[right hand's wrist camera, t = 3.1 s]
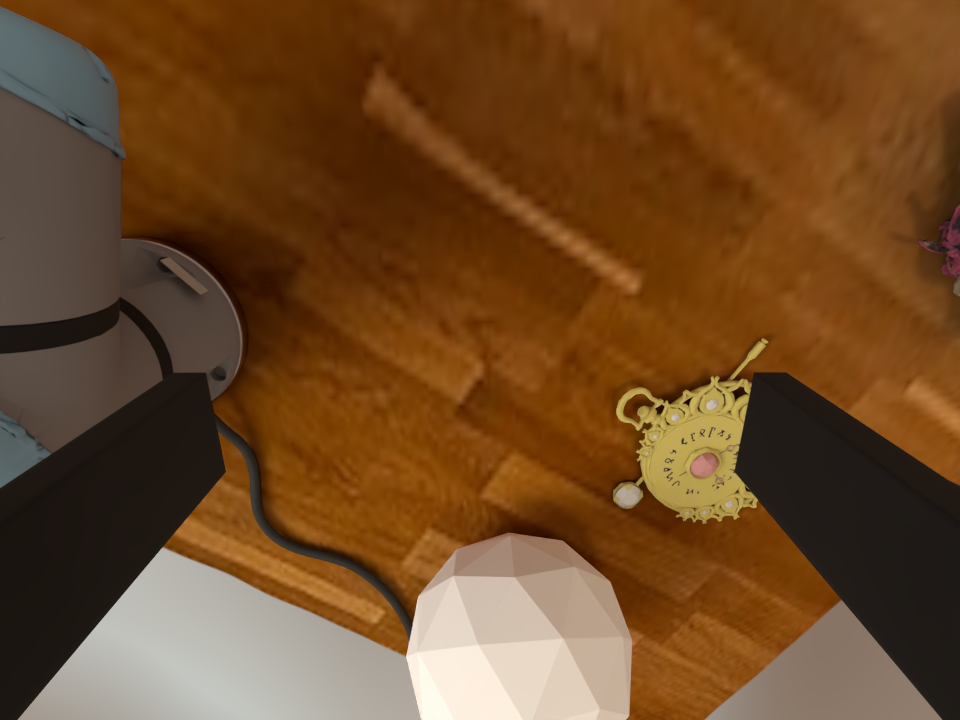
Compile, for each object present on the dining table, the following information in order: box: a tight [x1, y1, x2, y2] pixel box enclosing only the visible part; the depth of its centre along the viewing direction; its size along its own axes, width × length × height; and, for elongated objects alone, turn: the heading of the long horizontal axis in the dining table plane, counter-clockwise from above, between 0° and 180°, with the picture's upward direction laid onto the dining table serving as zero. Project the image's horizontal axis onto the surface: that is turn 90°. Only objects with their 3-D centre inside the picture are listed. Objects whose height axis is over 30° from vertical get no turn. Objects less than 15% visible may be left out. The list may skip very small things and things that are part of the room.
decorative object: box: [613, 338, 768, 524], centre depth 48 cm, size 21×2×20 cm
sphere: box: [406, 533, 632, 720], centre depth 45 cm, size 19×20×20 cm
